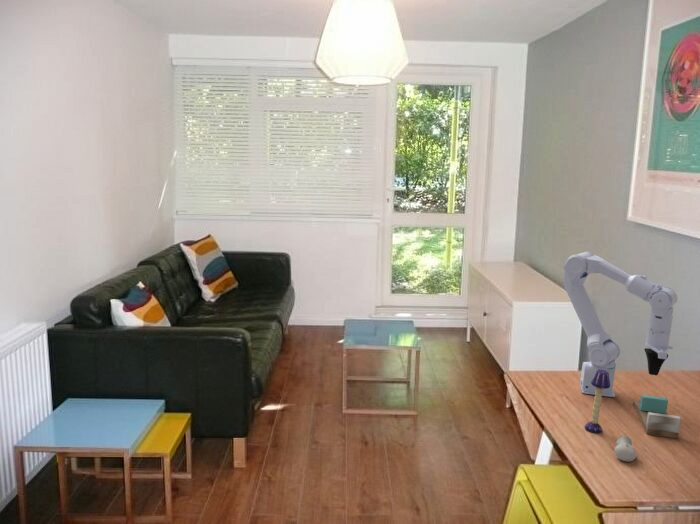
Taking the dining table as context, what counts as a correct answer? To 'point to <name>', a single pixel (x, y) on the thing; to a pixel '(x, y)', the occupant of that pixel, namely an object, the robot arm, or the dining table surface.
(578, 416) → the dining table surface
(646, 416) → the clamp board
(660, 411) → the sliding jaw
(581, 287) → the robot arm
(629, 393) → the dining table surface
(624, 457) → the pale two-lobed sculpture
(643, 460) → the dining table surface
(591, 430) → the toy lamp
